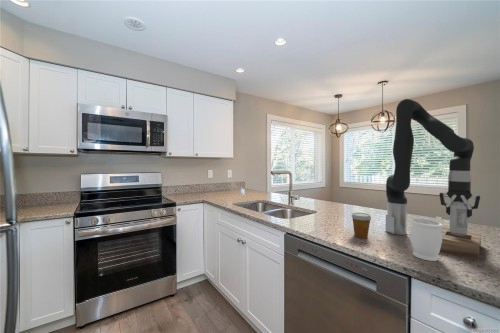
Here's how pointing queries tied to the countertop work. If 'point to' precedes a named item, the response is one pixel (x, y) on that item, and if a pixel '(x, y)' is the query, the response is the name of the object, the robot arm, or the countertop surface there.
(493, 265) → the countertop surface
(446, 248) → the cutout shelf
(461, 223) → the energy drink can
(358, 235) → the disposable coffee cup
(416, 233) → the jar
